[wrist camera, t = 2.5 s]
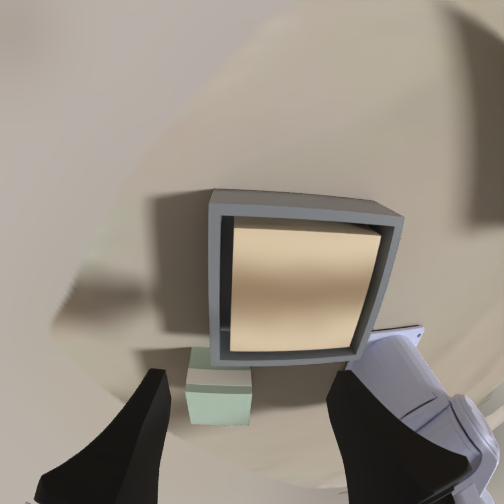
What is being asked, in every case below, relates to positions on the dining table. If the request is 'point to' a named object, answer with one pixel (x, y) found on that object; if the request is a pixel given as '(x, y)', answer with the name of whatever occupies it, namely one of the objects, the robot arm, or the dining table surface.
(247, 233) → the tan wooden block
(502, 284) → the dining table surface
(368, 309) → the gray square tray
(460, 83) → the dining table surface
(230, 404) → the green banded cube
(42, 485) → the robot arm
